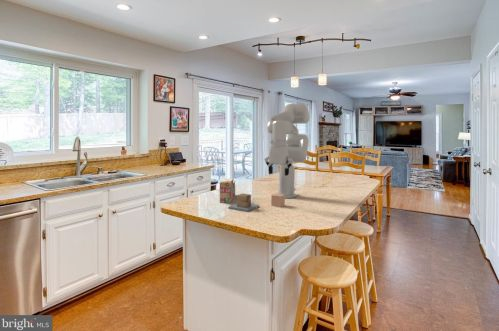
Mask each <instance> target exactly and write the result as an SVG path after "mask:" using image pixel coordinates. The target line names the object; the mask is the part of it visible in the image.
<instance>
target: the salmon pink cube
mask: <svg viewBox="0 0 499 331" xmlns="http://www.w3.org/2000/svg"><path fill="white" fill-rule="evenodd" d="M285 200H286V198H285V195H284V194H277V193H273V194H272V195H271V204H270V205H271V207H276V208H277V207H278V208H282V207H283V206H285V205H286V204H285V202H286V201H285Z"/></svg>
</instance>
